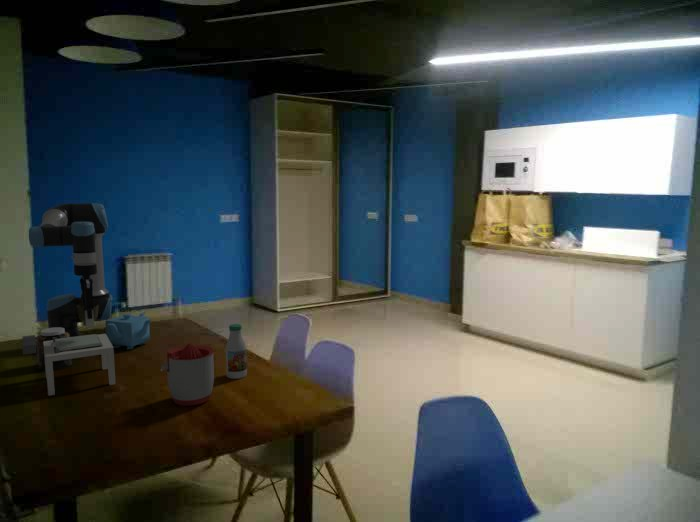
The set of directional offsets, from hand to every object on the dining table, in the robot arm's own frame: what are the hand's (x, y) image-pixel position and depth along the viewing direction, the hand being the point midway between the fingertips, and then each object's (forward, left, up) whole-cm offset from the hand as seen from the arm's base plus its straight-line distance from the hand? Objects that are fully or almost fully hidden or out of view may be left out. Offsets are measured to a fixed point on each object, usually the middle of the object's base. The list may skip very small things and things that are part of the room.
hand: (89, 324), depth 200 cm
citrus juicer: (+40, +26, -21) cm, 52 cm away
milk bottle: (+25, +48, -21) cm, 58 cm away
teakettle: (-38, +20, -21) cm, 48 cm away
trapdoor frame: (0, -4, -21) cm, 21 cm away
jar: (-24, -11, -21) cm, 34 cm away
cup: (0, 0, 0) cm, 1 cm away
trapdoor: (0, -9, -7) cm, 11 cm away
